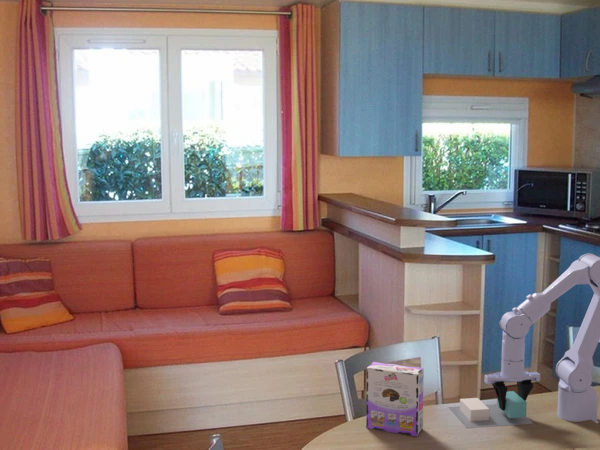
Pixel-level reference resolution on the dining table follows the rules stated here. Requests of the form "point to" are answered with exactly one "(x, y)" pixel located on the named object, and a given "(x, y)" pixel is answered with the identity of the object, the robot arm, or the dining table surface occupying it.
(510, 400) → the teal brick
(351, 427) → the dining table surface
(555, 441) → the dining table surface
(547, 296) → the robot arm
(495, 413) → the baseplate
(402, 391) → the candy box
